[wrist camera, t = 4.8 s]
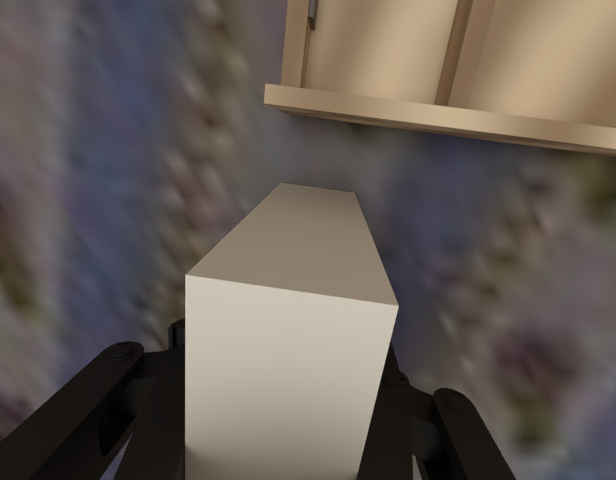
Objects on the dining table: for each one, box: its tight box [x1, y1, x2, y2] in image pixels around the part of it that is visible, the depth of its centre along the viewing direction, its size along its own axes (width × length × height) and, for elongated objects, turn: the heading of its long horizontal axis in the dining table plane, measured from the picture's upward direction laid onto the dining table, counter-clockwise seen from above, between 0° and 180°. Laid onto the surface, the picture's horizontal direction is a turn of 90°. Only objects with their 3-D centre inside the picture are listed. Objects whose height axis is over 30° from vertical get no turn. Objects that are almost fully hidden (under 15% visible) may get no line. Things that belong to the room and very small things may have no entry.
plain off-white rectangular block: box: [185, 183, 399, 480], centre depth 13 cm, size 4×11×12 cm, turn 173°
